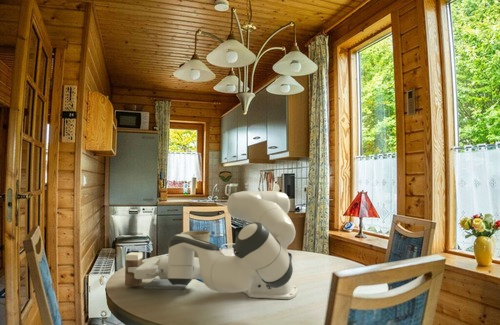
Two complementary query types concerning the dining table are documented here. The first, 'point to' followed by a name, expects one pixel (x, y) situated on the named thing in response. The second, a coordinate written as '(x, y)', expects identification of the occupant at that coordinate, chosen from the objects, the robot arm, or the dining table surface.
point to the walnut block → (132, 261)
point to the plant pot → (198, 236)
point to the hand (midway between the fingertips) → (131, 267)
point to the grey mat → (163, 284)
